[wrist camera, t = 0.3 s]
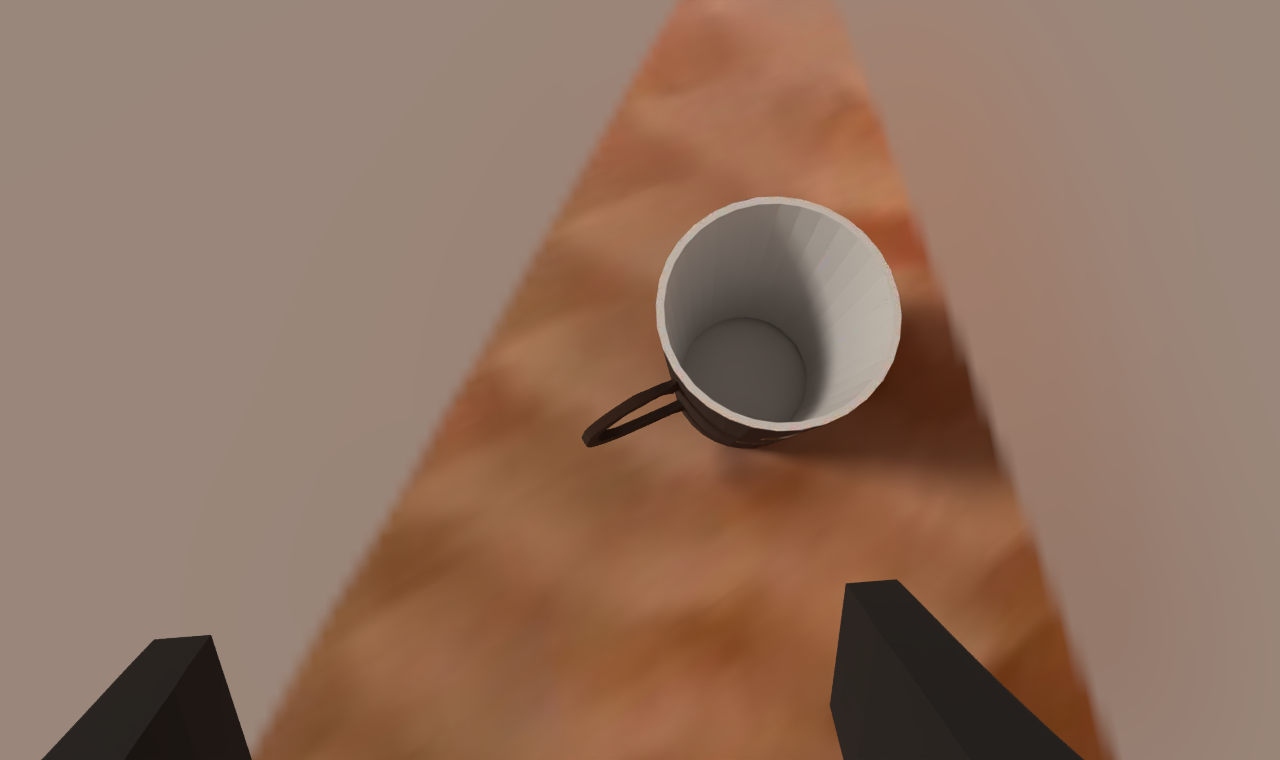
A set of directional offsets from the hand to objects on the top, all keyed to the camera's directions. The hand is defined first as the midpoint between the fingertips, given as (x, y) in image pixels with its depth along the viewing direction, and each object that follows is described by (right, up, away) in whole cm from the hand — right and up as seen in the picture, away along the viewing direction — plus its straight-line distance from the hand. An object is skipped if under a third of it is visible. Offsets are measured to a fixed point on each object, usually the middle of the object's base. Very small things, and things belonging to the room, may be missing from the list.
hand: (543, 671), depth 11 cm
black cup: (+4, +3, +31) cm, 32 cm away
